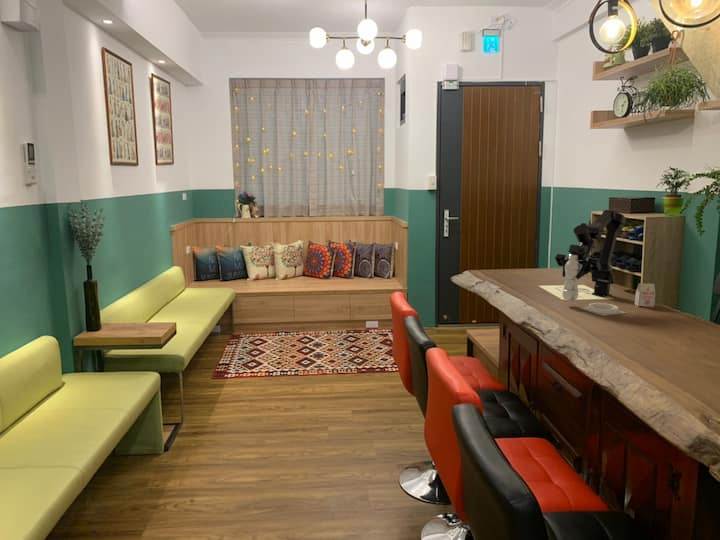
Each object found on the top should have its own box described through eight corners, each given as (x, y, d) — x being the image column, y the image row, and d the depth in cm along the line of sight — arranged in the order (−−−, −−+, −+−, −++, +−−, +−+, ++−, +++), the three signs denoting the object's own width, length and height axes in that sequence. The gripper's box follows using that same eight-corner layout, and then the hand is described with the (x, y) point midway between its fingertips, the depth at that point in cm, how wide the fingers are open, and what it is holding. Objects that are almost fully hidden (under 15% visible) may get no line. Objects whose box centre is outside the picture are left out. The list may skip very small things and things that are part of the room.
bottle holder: (602, 306, 250) (602, 301, 250) (626, 313, 238) (627, 308, 238) (579, 308, 245) (579, 303, 245) (603, 315, 233) (603, 310, 233)
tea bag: (634, 304, 254) (636, 282, 252) (649, 305, 254) (652, 283, 252) (638, 306, 250) (640, 284, 248) (653, 307, 250) (656, 284, 248)
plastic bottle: (578, 299, 251) (582, 253, 247) (577, 302, 244) (581, 256, 241) (562, 297, 253) (566, 252, 250) (561, 300, 247) (564, 254, 243)
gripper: (558, 235, 253) (544, 263, 248) (600, 239, 240) (586, 269, 235) (565, 251, 260) (551, 278, 254) (606, 256, 247) (593, 285, 241)
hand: (570, 277), depth 246 cm, fingers closed on plastic bottle, 6 cm apart
